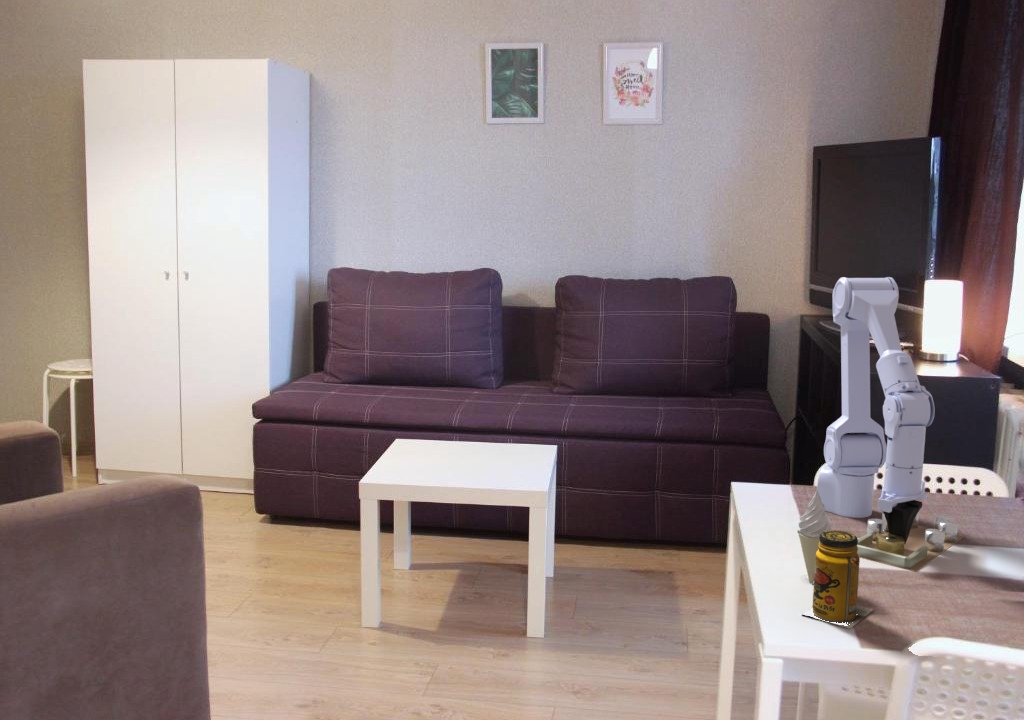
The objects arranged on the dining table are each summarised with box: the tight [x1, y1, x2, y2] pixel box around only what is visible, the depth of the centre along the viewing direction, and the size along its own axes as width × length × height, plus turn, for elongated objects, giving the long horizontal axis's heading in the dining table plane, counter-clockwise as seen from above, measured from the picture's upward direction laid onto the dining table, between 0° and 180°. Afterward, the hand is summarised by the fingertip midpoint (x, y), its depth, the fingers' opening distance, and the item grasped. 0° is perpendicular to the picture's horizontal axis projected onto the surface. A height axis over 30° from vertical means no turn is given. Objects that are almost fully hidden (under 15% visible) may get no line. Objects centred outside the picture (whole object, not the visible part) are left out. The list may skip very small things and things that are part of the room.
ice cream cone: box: [797, 489, 832, 584], centre depth 163 cm, size 5×5×15 cm
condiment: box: [812, 529, 874, 629], centre depth 152 cm, size 7×8×12 cm
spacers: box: [866, 511, 959, 553], centre depth 181 cm, size 12×13×3 cm
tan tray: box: [857, 525, 966, 573], centre depth 178 cm, size 12×22×3 cm, turn 138°
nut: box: [876, 534, 905, 556], centre depth 174 cm, size 4×5×3 cm
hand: (898, 543), depth 176 cm, fingers closed
